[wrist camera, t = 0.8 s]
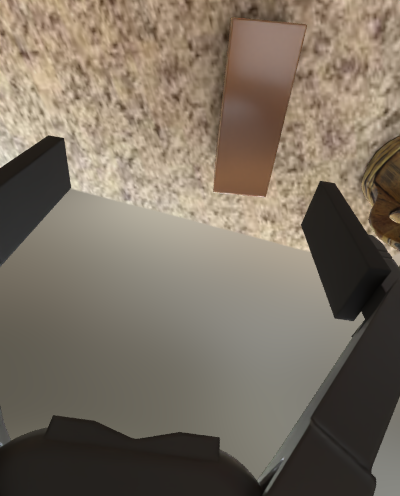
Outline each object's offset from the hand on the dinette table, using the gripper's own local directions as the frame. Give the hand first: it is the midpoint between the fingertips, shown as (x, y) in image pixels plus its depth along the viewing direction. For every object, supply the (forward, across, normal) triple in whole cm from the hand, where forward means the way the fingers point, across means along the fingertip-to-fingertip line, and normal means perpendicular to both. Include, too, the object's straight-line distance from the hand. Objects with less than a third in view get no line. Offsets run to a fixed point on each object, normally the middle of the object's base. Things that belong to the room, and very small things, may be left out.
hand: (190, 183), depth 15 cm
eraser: (+17, +4, +1) cm, 17 cm away
